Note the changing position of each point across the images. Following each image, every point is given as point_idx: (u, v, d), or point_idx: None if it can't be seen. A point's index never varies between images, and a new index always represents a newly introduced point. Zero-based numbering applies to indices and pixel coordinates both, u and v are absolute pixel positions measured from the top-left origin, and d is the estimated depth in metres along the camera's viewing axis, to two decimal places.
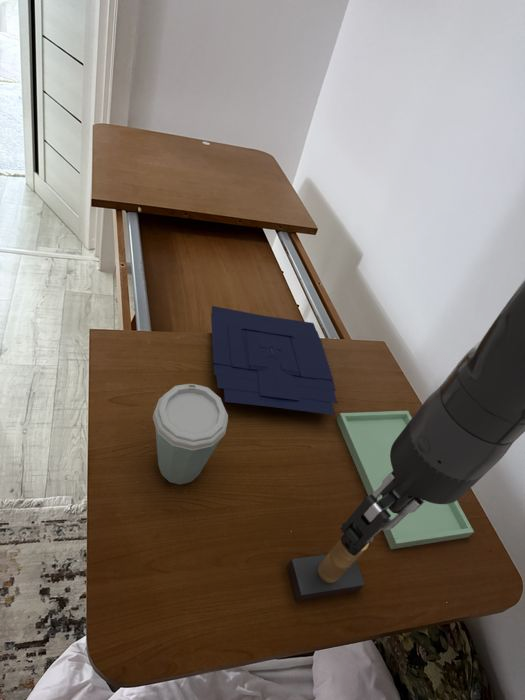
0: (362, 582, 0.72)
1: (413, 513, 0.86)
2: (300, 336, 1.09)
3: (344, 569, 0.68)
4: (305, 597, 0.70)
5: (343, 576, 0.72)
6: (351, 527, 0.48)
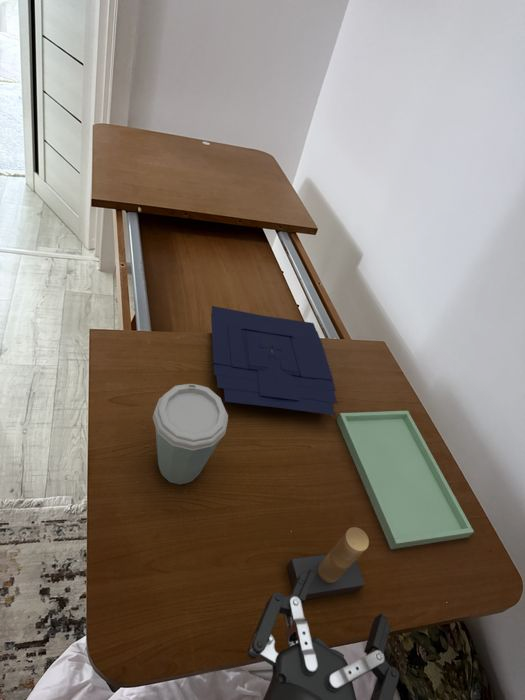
0: (362, 582, 0.72)
1: (413, 513, 0.86)
2: (300, 336, 1.09)
3: (344, 569, 0.68)
4: None
5: (343, 576, 0.72)
6: None
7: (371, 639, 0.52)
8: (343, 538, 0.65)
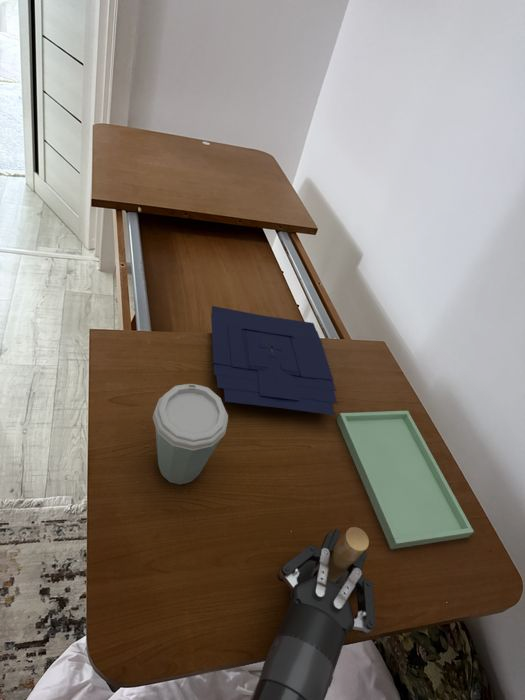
0: None
1: (413, 513, 0.86)
2: (300, 336, 1.09)
3: (344, 569, 0.68)
4: None
5: (343, 576, 0.72)
6: None
7: None
8: (343, 538, 0.65)
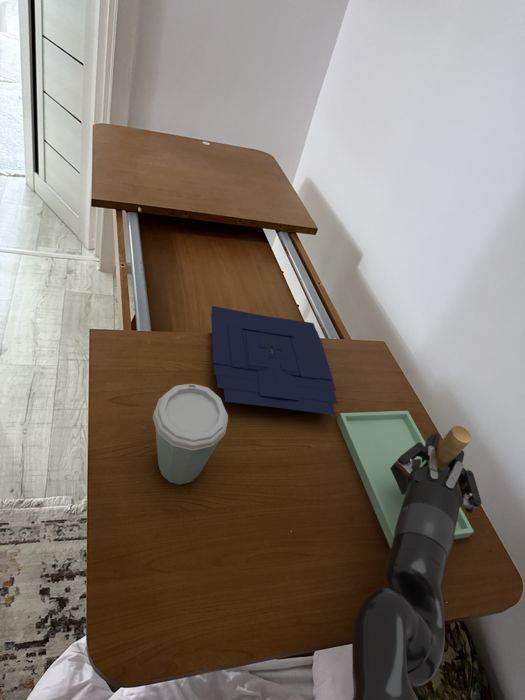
0: None
1: None
2: (300, 336, 1.09)
3: (447, 463, 0.79)
4: None
5: None
6: None
7: None
8: (449, 434, 0.77)
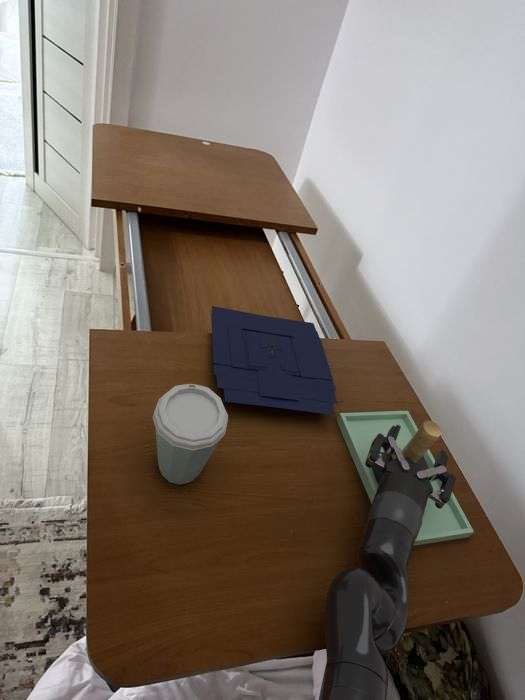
0: None
1: None
2: (300, 336, 1.09)
3: (419, 456, 0.85)
4: None
5: None
6: None
7: (437, 462, 0.85)
8: (421, 428, 0.83)
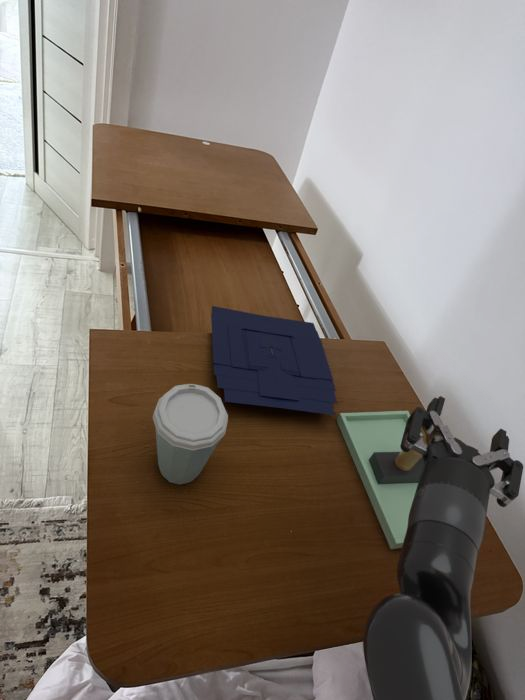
0: None
1: None
2: (300, 336, 1.09)
3: (419, 456, 0.85)
4: (386, 480, 0.87)
5: (415, 467, 0.90)
6: None
7: (495, 445, 0.64)
8: (421, 428, 0.83)
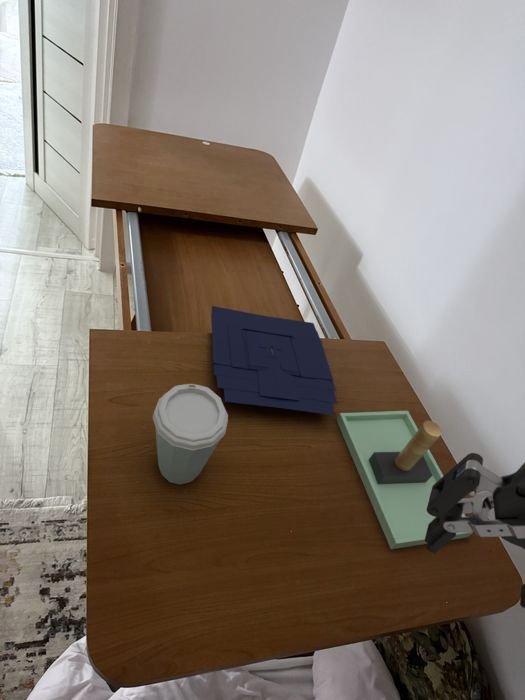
0: (430, 473, 0.90)
1: (413, 513, 0.86)
2: (300, 336, 1.09)
3: (419, 456, 0.85)
4: (386, 480, 0.87)
5: (415, 467, 0.90)
6: (441, 490, 0.41)
7: None
8: (421, 428, 0.83)
